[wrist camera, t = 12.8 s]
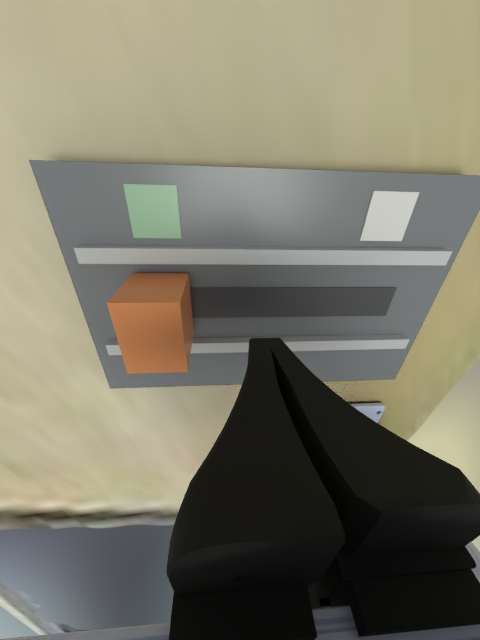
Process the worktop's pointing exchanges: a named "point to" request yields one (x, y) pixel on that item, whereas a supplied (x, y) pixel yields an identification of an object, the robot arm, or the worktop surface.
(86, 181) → the panel
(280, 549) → the robot arm
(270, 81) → the worktop surface
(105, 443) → the worktop surface
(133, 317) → the knob
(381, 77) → the worktop surface
